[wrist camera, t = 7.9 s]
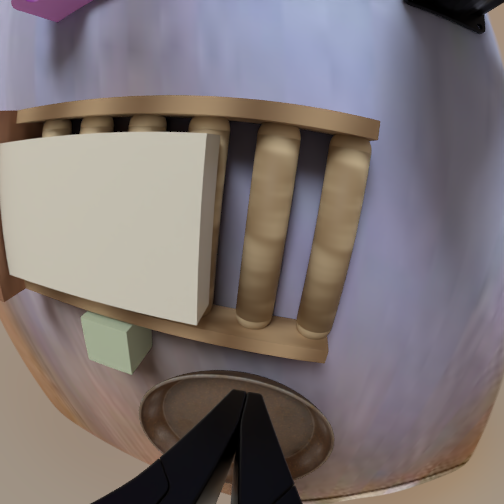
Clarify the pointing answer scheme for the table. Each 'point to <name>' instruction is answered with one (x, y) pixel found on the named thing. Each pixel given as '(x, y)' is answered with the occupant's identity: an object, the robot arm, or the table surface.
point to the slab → (114, 217)
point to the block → (115, 342)
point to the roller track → (258, 217)
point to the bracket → (49, 7)
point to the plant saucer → (213, 391)
